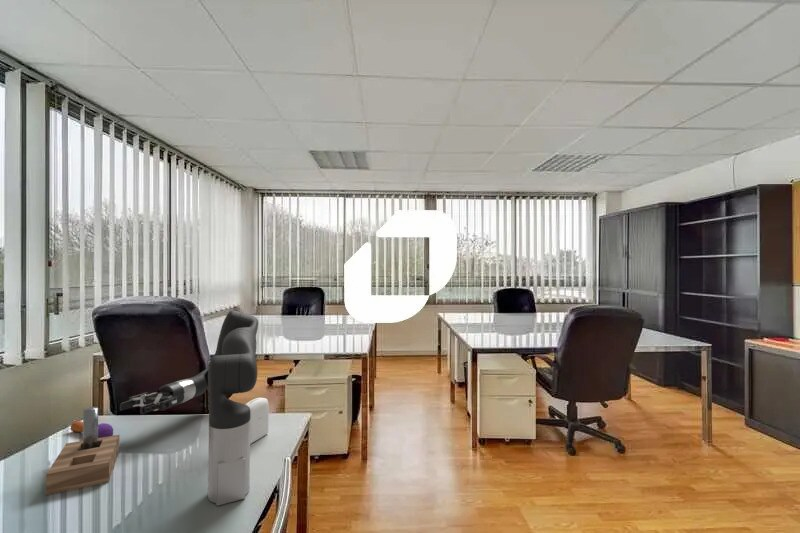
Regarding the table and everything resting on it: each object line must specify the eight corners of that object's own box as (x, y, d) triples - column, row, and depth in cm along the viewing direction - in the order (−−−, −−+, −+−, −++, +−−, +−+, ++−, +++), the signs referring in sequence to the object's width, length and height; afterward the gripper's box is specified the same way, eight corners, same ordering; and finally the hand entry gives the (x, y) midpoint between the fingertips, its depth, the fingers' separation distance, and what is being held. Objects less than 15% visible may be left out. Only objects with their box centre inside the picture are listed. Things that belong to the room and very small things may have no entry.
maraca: (89, 415, 130) (118, 423, 120) (85, 434, 129) (115, 443, 119) (67, 417, 125) (96, 426, 115) (63, 437, 124) (92, 447, 114)
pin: (96, 460, 105) (96, 409, 105) (81, 463, 104) (82, 411, 104) (98, 455, 108) (99, 406, 108) (84, 458, 107) (84, 407, 107)
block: (108, 482, 97) (109, 462, 97) (45, 495, 91) (46, 474, 91) (119, 451, 113) (119, 434, 113) (66, 461, 107) (66, 443, 107)
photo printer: (248, 446, 117) (248, 406, 117) (236, 444, 118) (237, 404, 118) (270, 433, 127) (271, 395, 127) (259, 431, 128) (260, 393, 128)
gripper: (161, 379, 134) (113, 393, 119) (193, 384, 130) (148, 399, 114) (161, 401, 134) (113, 418, 119) (193, 406, 129) (147, 424, 114)
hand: (130, 409), depth 116 cm, fingers open, 8 cm apart
